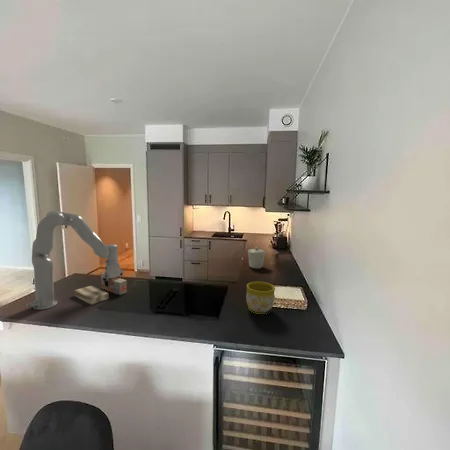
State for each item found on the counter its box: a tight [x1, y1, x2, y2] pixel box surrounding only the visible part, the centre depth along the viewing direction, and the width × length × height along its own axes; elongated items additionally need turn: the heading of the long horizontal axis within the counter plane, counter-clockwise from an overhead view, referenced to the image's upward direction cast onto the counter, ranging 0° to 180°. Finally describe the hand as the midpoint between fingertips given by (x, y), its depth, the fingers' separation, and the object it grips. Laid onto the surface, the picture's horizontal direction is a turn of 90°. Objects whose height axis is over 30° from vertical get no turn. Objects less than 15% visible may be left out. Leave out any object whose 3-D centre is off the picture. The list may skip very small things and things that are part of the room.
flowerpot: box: [245, 281, 276, 315], centre depth 164 cm, size 18×18×16 cm
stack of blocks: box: [100, 271, 128, 296], centre depth 189 cm, size 21×6×12 cm, turn 60°
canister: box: [247, 246, 266, 270], centre depth 260 cm, size 18×18×21 cm
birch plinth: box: [73, 285, 110, 306], centre depth 176 cm, size 12×22×4 cm, turn 56°
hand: (112, 284), depth 189 cm, fingers open, 9 cm apart
